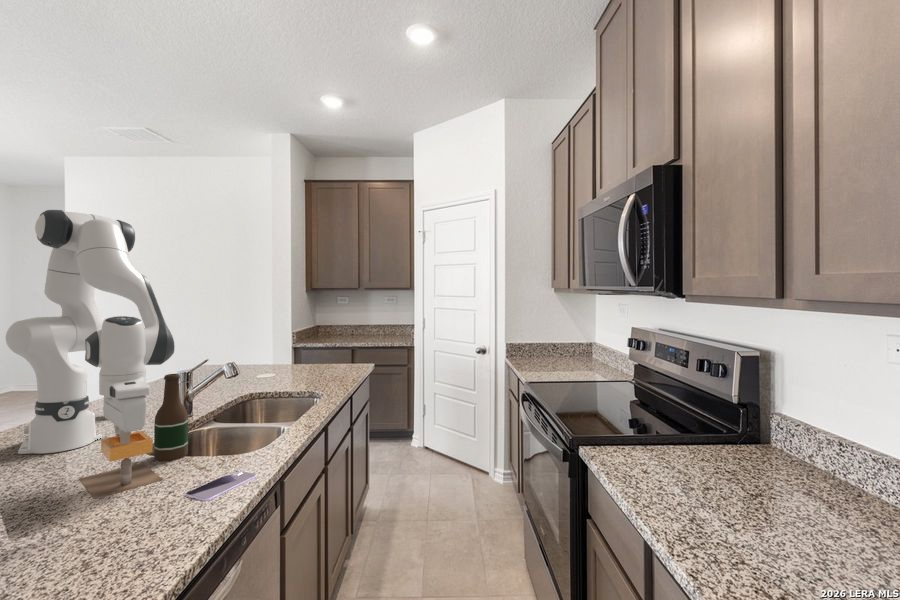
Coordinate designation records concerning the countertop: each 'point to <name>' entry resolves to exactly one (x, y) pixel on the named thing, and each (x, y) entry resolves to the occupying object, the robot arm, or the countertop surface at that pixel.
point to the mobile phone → (220, 486)
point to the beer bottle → (171, 424)
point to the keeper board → (119, 479)
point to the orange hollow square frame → (126, 446)
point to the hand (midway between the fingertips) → (122, 442)
